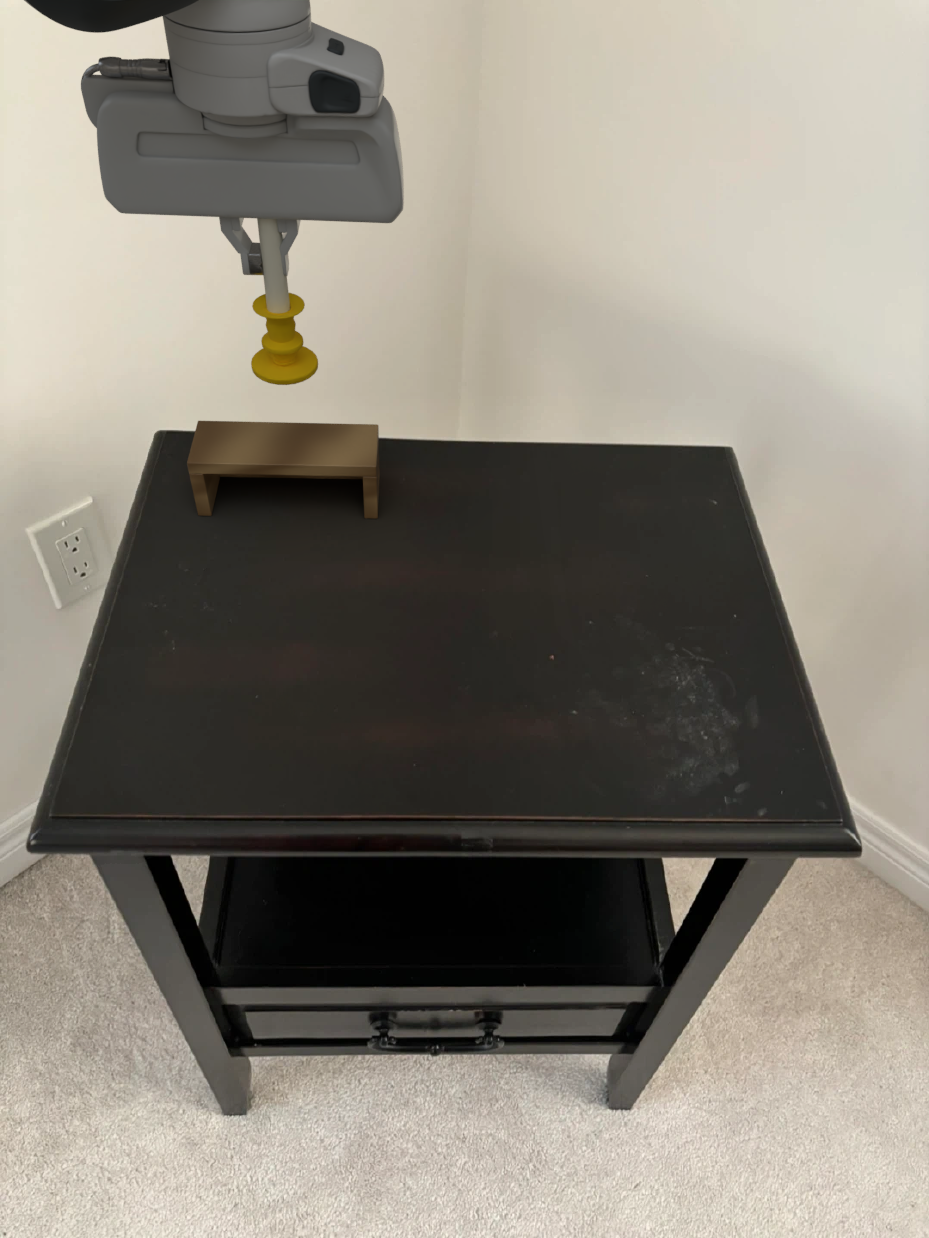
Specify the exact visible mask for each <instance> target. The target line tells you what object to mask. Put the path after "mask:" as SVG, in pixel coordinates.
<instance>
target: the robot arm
mask: <svg viewBox="0 0 929 1238" xmlns="http://www.w3.org/2000/svg"><path fill="white" fill-rule="evenodd" d="M23 1H24V2H25V3H26V4H27V5H29V6H30V7H32V8H33V9H34V10H36V11H37V12H38V13H39V14H41V15H42V16H44V17H46V18H47V19H49V20H50V21H53V22H55V23H57V24H59V25H60V26H63V27H66V28H69V29H71V30H74V31H79V32H84V33H95V34H96V33H97V34H100V33H111V32H115V31H119V30H124V29H127V28H130V27H133V26H136V25H140V24H143V23H146V22H150V21H152V20H155V19H158V18H161V17H162V21H163V29H164V33H165V40H166V44H167V51H168V58H148V57H147V58H136V59H135V58H130V59H129V58H128V59H127V58H122V57H118V56H104V57H100V58H99V59H98V63H94V64H92V65H90V66H88V67H87V68H86V69H85V70H84V72H83V74H82V76H81V79H80V91H81V95H82V99H83V104H84V107H85V108H84V109H85V112H86V115H87V117H88V119H89V121H90V123H91V124H92V125H93V127H94V128H96V140H97V141H96V143H97V144H96V145H97V155H98V157H97V158H98V164H99V165H98V166H99V173H100V180H101V186H102V191H103V195H104V198H105V199H106V201H107V202H108V203H109V204H110V205H111V206H112V207H113V208H114V209H115V210H116V211H117V212H118V213H119V214H120V213H121V214H126V215H151V216H152V215H155V216H177V217H178V216H181V217H182V216H183V217H205V218H206V217H207V218H208V217H210V218H218V219H219V220H218V221H219V226H220V231H221V233H222V234H223V235H224V237H225V238H226V239H227V241H228V242H229V243H230V244H231V246H232V247H233V248H234V250H235V251H236V252H237V254H239V255H240V262H241V267H242V268H241V269H242V274H243V275H244V276H263V275H264V274H263V266H262V256H261V249H260V242H253V241H252V240H251V238H250V236H249V234H248V233H247V232H246V230H245V228H244V227H243V223H244V219H257V218H260V219H277V225H278V231H279V232H280V233H282V236H283V240H282V243H281V245H280V247H279V249H280V254H281V261H282V269H283V275H284V276H287V277H288V275H289V271H290V259H289V252H290V249H291V248H292V246H293V244H294V242H295V240H296V239H297V236H298V235H299V231H300V226H301V222H302V221H316V222H317V221H318V222H347V223H370V224H371V223H373V224H392V223H393V222H395V221H396V220H397V218H398V217H399V216H400V215H401V213H402V212H403V210H404V206H405V205H404V204H405V190H404V189H405V185H404V183H405V182H404V165H403V154H402V145H401V138H400V132H399V127H398V121H397V118H396V114H395V112H394V108H393V107H392V105H391V103H390V102H389V100H388V99H387V98H386V96H385V95H384V91H385V68H384V63H383V58H382V56H381V54H380V52H379V50H377V49H376V48H375V47H374V46H371V45H369V44H367V43H364V42H362V41H359V40H357V39H354V38H351V37H349V36H347V35H344V34H342V33H339V32H336V31H334V30H331V29H329V28H327V27H325V26H322V25H320V24H317V23H315V22H313V21H312V7H311V1H310V0H23ZM97 72H99V73H100V74H95V73H97Z"/></svg>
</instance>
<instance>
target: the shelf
mask: <svg viewBox="0 0 929 1238" xmlns="http://www.w3.org/2000/svg"><path fill="white" fill-rule="evenodd" d="M379 428H380V427H379V424H376V423H375V424H373V423H372V424H371V423H369V424H368V423H327V422H325V423H324V422H285V421H284V422H283V421H281V422H278V421H239V420H237V421H233V420H232V421H231V420H230V421H229V420H197V423H196V428H195V431H194V435H193V438H192V442H191V446H190V449H189V453H188V456H187V457H188V458H187V462H186V466H187V471H188V474H189V480H190V485H191V489H192V493H193V499H194V502H195V507H196V512H197V515H198V517H199V516H200V517H212V515H213V511H214V506H215V502H216V497H217V493H218V489H219V484H220V479H221V478H265V479H267V478H270V479H271V478H272V479H276V478H277V479H327V480H329V479H330V480H332V479H333V480H335V479H336V480H362V494H363V515H364V516H363V518H364V519H375V520H377V519H378V518H379V500H380V499H379V498H380V478H381V475H380V473H381V471H380V436H379V435H380V433H379V432H380V431H379V430H380V429H379Z"/></svg>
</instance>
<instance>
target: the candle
mask: <svg viewBox="0 0 929 1238" xmlns="http://www.w3.org/2000/svg"><path fill="white" fill-rule="evenodd" d="M256 221H257V230H258V238H259V243H260V249H261V256H262V266H263V274H264V275H262V276H263V284H264V293H263V294H261V295H259V296H258V297H256V298H255V299H254V300H253V301H252V305H251V307H252V310H253V312H254V313H255V314H256V315H258V316H260V317H262V318H265V320H266V321H265V322H266V323H265V327H266V330H267V331H266V333H264V334H263V335H262V337H261V340H260V341H261V346H262V348H260V350H258V351H257V352H256V353H255V354H254V355H252V358H251V362H250V365H251V371H252V373H253V374H254V376H255V377H256V378H258V379H259V380H261V381H262V382H265V383H268V384H271V385H276V386H277V385H278V386H289V385H296V384H299V383H304V382H305V381H307V380H309V379H311V378H312V377H313V376H314V375H315V374H316V373H317V371H318V368H319V358H318V356H317V355H316V353H315V352H314V351H313V350H311V349H310V348H308V347H306V346H304V337H303V335H302V333H300V332H299V331H297V330H296V326H297V325H296V320H295V317H296V316H298V315H300V314H301V313H302V312H303V311H304V309H305V300H304V299H303V298H302V297H301V296H299V295H298V294H295V293H292V292H289V283H288V276H284V275H283V269H282V261H281V254H280V249H279V247H280V245H281V243H282V240H283V236H282V234H283V233H280V232H279V231H278V225H277V219H260V218H256Z"/></svg>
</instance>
